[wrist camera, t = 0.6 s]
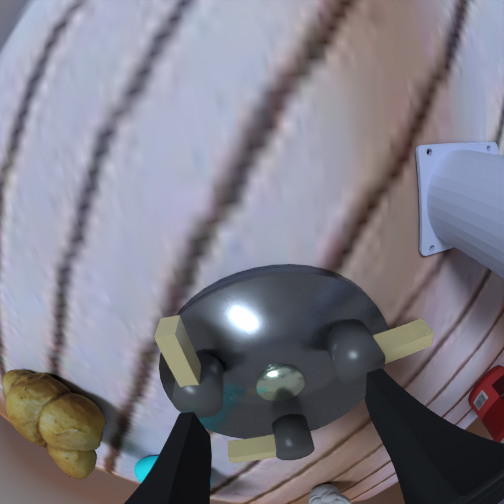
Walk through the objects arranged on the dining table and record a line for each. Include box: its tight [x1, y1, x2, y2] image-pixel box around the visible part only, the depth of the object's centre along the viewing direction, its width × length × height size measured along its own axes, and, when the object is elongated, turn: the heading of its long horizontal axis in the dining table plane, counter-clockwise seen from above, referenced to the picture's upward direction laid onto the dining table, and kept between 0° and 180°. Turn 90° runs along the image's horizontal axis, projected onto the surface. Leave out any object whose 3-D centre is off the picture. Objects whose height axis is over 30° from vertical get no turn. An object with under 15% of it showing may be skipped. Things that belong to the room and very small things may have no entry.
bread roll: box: [3, 370, 106, 479], centre depth 19 cm, size 13×10×8 cm
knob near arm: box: [325, 319, 434, 386], centre depth 17 cm, size 7×3×3 cm, turn 102°
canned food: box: [469, 365, 504, 443], centre depth 23 cm, size 8×8×11 cm
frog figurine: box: [308, 484, 351, 504], centre depth 30 cm, size 6×7×7 cm
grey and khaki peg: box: [154, 315, 223, 418], centre depth 17 cm, size 7×3×3 cm, turn 12°
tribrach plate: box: [159, 264, 388, 439], centre depth 21 cm, size 18×18×2 cm
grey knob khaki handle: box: [228, 414, 314, 463], centre depth 21 cm, size 7×3×3 cm, turn 102°
